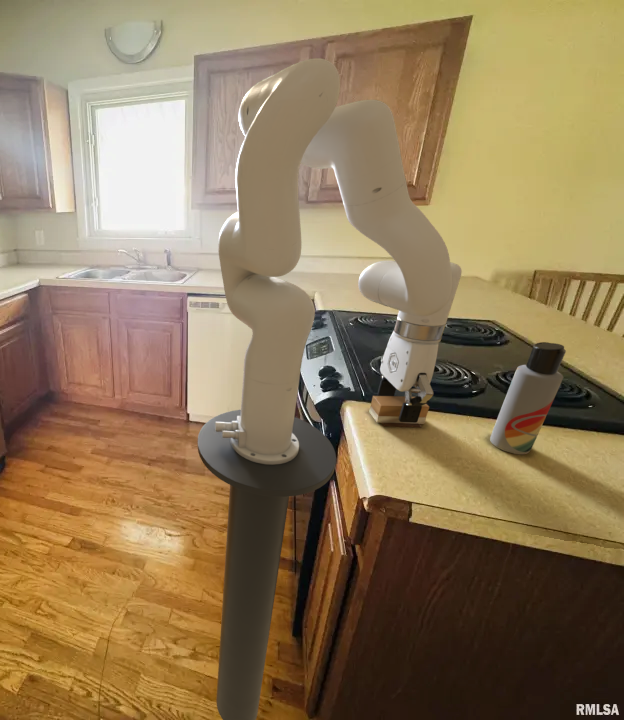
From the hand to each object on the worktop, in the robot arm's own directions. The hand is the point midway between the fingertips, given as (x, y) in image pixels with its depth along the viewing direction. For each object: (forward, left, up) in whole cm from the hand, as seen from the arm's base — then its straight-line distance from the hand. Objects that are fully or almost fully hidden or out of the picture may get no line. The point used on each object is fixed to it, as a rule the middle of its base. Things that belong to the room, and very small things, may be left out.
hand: (395, 408), depth 80 cm
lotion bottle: (+17, -8, -3) cm, 19 cm away
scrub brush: (+1, 0, -2) cm, 3 cm away
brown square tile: (+1, 0, -3) cm, 3 cm away
